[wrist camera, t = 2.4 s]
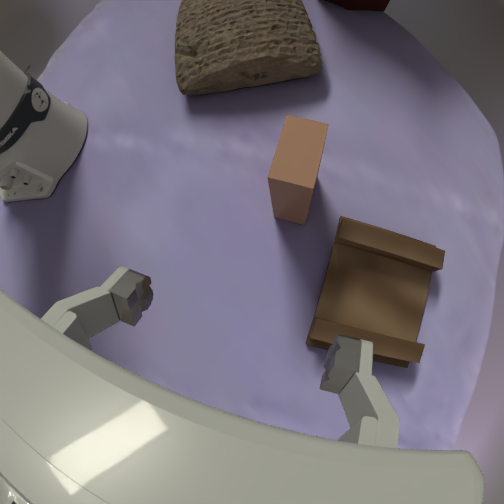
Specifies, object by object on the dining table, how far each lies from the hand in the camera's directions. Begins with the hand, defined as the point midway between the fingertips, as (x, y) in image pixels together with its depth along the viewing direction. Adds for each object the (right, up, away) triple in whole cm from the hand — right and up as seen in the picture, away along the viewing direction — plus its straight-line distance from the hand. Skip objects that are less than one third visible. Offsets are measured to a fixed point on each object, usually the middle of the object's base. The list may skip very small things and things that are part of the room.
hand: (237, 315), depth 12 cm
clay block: (+6, +9, +21) cm, 23 cm away
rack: (+14, -2, +18) cm, 23 cm away
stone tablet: (-1, +39, +27) cm, 47 cm away
